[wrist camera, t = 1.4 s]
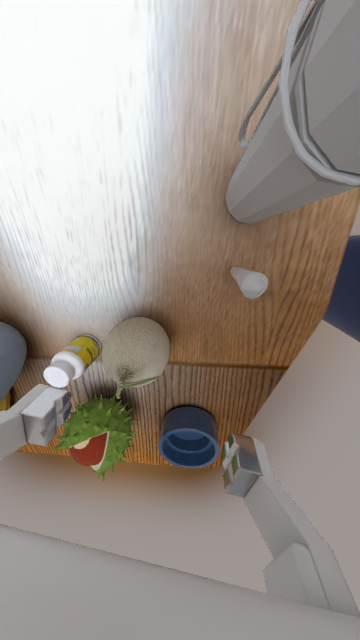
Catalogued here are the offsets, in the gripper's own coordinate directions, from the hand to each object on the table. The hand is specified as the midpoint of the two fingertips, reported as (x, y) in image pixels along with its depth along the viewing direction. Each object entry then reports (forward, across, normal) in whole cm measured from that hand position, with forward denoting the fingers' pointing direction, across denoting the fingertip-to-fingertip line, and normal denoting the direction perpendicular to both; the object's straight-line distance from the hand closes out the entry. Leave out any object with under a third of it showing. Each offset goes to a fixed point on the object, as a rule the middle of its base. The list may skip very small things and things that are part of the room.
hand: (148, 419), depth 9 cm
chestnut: (+24, +10, +30) cm, 40 cm away
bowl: (+25, -8, +30) cm, 40 cm away
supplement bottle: (+24, +16, +15) cm, 33 cm away
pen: (+25, -6, -6) cm, 26 cm away
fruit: (+25, +6, +10) cm, 27 cm away
